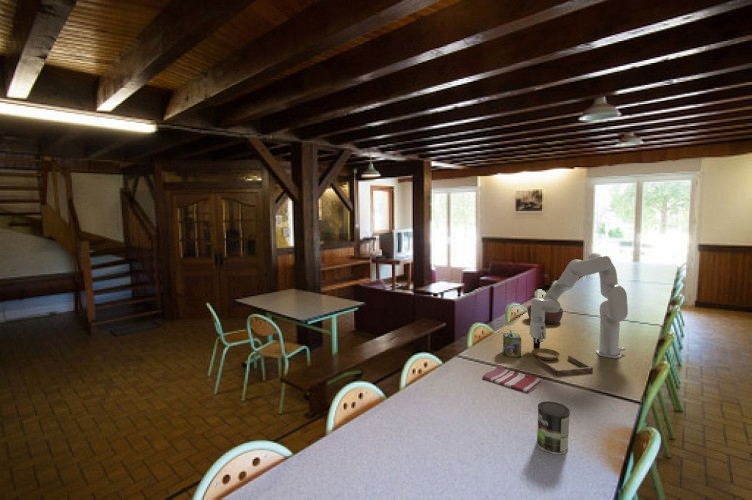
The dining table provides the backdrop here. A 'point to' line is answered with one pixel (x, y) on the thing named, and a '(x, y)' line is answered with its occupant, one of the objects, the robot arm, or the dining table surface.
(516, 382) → the dish towel
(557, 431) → the coffee can
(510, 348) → the chalk box
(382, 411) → the dining table surface
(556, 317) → the wooden bowl
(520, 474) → the dining table surface
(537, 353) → the plant saucer
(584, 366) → the display frame
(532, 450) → the dining table surface
